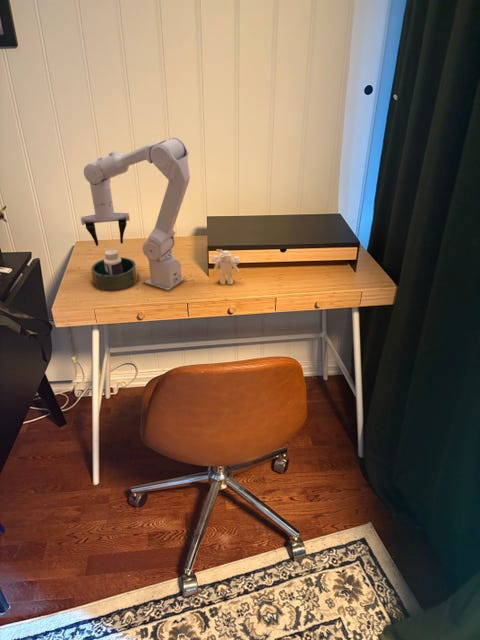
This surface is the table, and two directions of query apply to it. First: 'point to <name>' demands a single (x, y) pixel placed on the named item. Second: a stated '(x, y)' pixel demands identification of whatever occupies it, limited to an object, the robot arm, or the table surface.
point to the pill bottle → (112, 262)
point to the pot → (114, 276)
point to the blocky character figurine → (225, 265)
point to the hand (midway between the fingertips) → (109, 243)
